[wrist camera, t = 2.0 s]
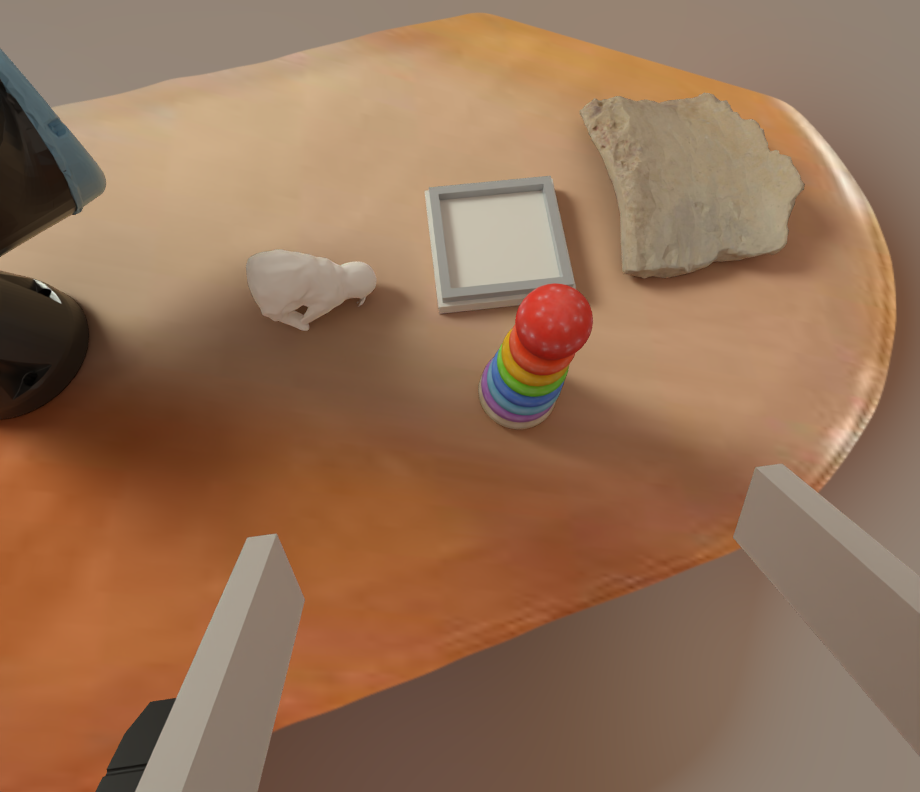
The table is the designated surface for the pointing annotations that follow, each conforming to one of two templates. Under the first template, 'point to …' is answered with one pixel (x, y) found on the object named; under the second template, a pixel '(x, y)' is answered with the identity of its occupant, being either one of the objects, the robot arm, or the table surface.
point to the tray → (495, 242)
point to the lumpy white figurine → (304, 285)
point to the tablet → (691, 183)
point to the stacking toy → (535, 356)
